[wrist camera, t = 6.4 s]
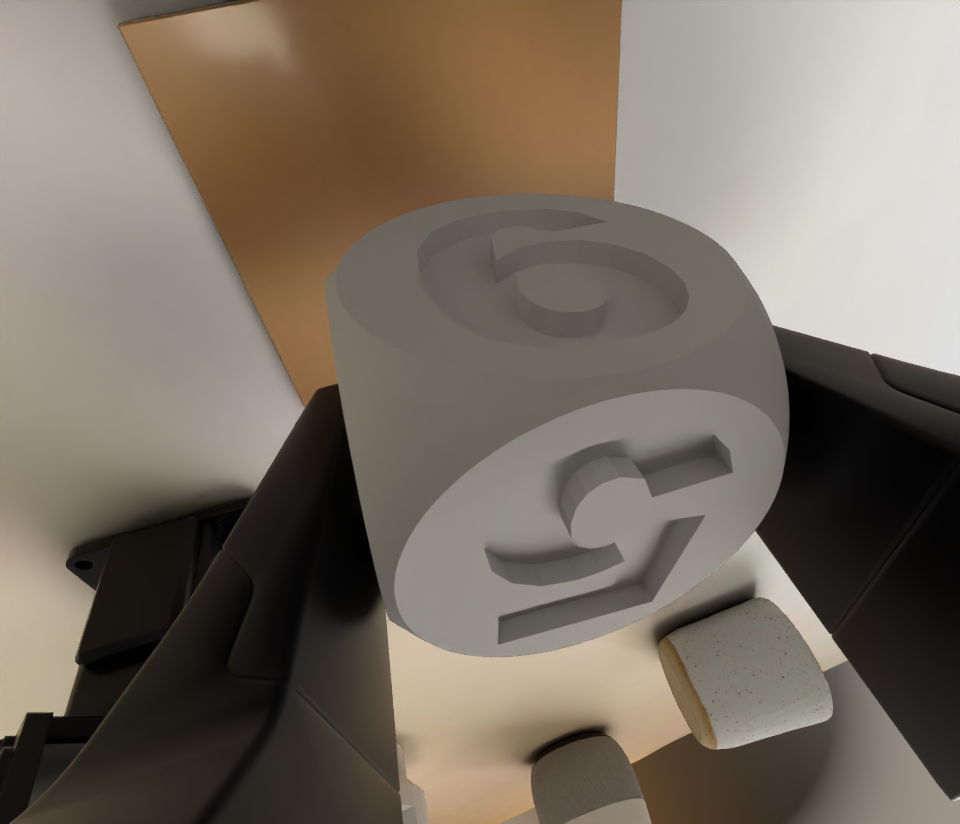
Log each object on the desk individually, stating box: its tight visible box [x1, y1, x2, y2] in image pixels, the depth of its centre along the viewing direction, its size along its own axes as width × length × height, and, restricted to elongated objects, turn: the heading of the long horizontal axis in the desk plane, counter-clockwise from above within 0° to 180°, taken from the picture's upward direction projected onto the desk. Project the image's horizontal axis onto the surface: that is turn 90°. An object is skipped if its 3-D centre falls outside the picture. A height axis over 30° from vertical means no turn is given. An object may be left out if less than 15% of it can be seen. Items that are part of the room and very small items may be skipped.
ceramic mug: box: [658, 597, 833, 749], centre depth 36 cm, size 11×8×8 cm
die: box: [325, 194, 789, 657], centre depth 8 cm, size 5×5×5 cm
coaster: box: [118, 0, 622, 407], centre depth 14 cm, size 10×10×1 cm
